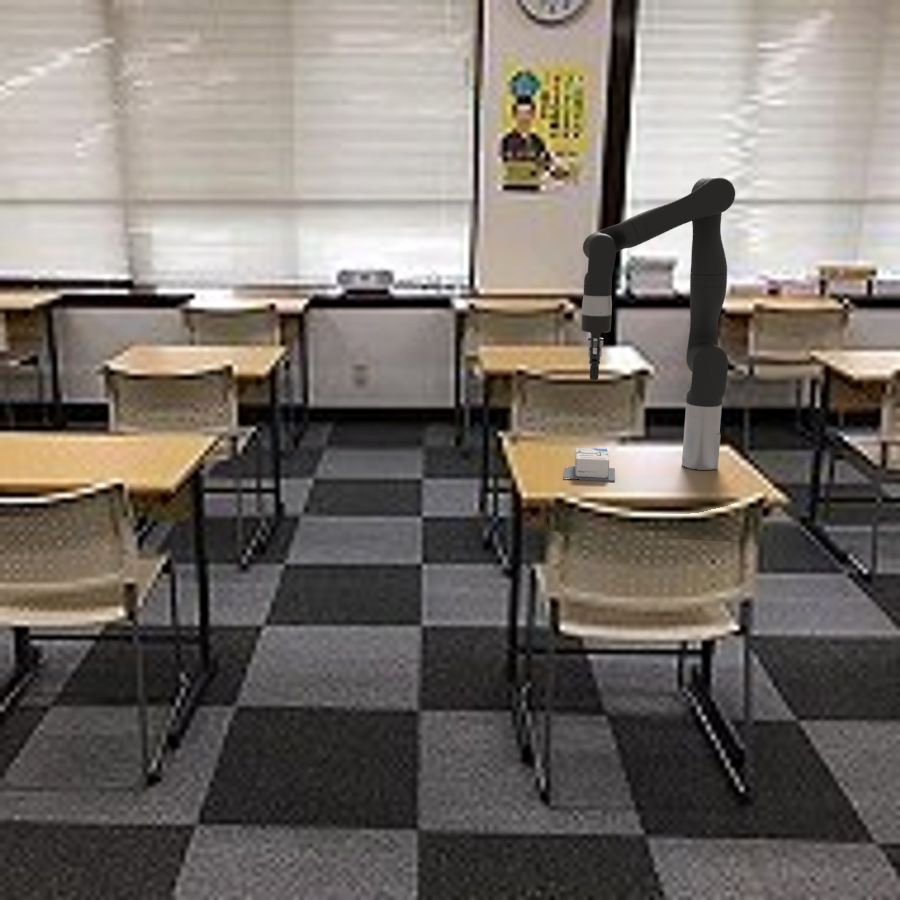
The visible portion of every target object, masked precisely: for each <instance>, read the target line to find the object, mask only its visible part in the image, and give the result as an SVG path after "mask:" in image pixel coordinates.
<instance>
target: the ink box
mask: <svg viewBox="0 0 900 900" xmlns="http://www.w3.org/2000/svg"><path fill="white" fill-rule="evenodd" d="M574 454H575V456H574V458H575V460H574V466H575V475H576V476H578V477H597V478H608V477H609V468H610V458H609V453H608V449H607V448H590V447H589V448H588V447H587V448H585V447H583V448H582V447H576V448H575V453H574Z"/></svg>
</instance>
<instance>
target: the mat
mask: <svg viewBox="0 0 900 900" xmlns="http://www.w3.org/2000/svg"><path fill="white" fill-rule="evenodd" d="M569 466H570V467H568V468H565V467H564V473H563V477H562V478H570V479H579V480H578V481H585V480H588V481H589V482H604V481H607V483H608V482H609V483H616V472H615V471H616V468H615V467H609V477H608V478H597V477H578V476H576V475H575V465H569ZM588 481H587V482H588Z"/></svg>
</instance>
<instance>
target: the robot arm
mask: <svg viewBox="0 0 900 900" xmlns="http://www.w3.org/2000/svg"><path fill="white" fill-rule="evenodd" d="M734 186H735V185H734V184H733V183H732V182H731V181H730V180H728V179H727V178H726V177H725V178H724V177H722V176H704V177H701V178H700V179H698V180H697V181H696V182H695V183H694V185H693V186H692V188H691V191H690V193H689V194H687V195H685V196H683V197H681V198H679V199H676V200H674V201H671V202H669V203H666V204H663V205H659V206H657V207H653V208H651V209H648V210H645V211H643V212H641V213H639V214H635V215H633V216H631V217H629V218H628V219H625V220H623V221H622V222H620V223H618V224H614V225H612V226H608V227H605V228H603V229H600V230H597V231H594V232H593V233H592V234H591V233H590V235H588V236H587V237H586V238H585V239H584V240H583V244H582V251H583V253H584V255H585V257H587V259H588V260H587V261H588V262H587V272H586V273H585V275H584V279H583V297H582V303H581V324H580V325H581V331H582V332H584V333H590V335H591V337H587V348H588V350H587V352H588V353H587V355H588V356H587V357H589V379H590V380H591V381H598V380H599V371H600V369H599V368H600V365H601V357H602V355H603V354H602V353H603V346H604V338H603V337H601V334H603V333H604V334H605V333H609V332H611V330H612V329H611V328H612V312H613V311H612V309H613V308H612V307H613V303H612V302H613V301H612V285H613V284H612V283H613V282H612V280H613V279H612V277H613V273H614V268H615V264H616V263H615V262H616V256H617V255H616V254H617V252H620V251H622V250H624V249H630V248H634V247H637V246H638V245H642V244H643V243H646V242H648V241H650V240H652V239H655V238H656V237H659V236H661V235H662V234H665V233H667V232H669V231H672V230H673V229H676V228H677V227H680V226H682V225H685V224H687V223H690V222H691V225H692V241H691V255H690V257H691V258H690V261H691V262H690V275H689V276H690V277H689V314H690V316H689V318H690V320H689V321H690V323H689V334H688V342H687V347H686V348H687V349H686V355H685V356H686V358H685V360H686V365H687V367H688V369H689V370H690V371H691V374H692V375H691V382H690V383H691V385H690V388H689V390H688V391H687V392H686V400H685V413H684V414H685V415H684V416H685V417H684V426H683V427H684V429H683V440H682V441H683V444H682V455H681V465H683V466H682V467H684V466H685V467H684V468H686V467H687V469H691V470H695V469H697V471H711V470H719V458H720V448H721V447H720V445H721V431H720V430H721V423H722V422H721V419H722V408H723V398H724V396H725V394H726V388H727V382H728V370H729V360H728V355H727V353H726V351H725V350H724V349H723V348H722V347H720V346H719V340H718V338H719V337H718V328H719V326H718V324H719V320H720V315H721V312H722V309H723V305H724V302H725V298H726V293H727V287H728V285H727V284H728V265H727V257H726V252H725V248H724V244H723V241H722V235H721V233H722V232H721V227H722V226H721V225H722V224H721V223H722V213H724V212H726V211H727V210H729V208H731V207H732V205H733V204H734V201H735V198H736V189H735V187H734Z"/></svg>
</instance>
